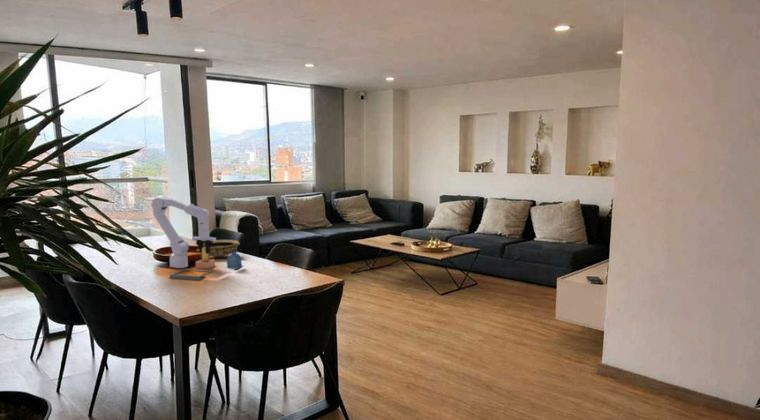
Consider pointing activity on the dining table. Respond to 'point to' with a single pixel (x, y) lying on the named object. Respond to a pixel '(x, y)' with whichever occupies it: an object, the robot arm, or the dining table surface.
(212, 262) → the peach hollow square block
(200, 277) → the tray
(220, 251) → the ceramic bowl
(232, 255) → the perfume bottle
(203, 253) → the dowel
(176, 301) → the dining table surface
